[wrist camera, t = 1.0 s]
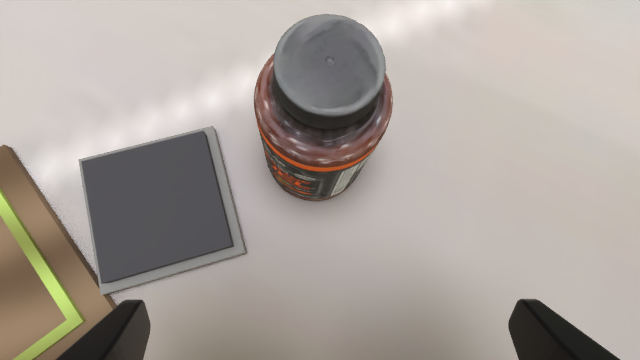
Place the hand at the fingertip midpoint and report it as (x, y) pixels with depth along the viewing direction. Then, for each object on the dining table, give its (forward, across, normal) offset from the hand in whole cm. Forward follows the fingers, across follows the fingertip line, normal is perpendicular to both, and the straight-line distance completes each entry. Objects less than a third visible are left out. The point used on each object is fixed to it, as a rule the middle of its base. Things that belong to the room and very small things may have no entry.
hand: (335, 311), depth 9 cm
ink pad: (+13, +9, +6) cm, 17 cm away
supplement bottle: (+15, 0, +4) cm, 16 cm away
